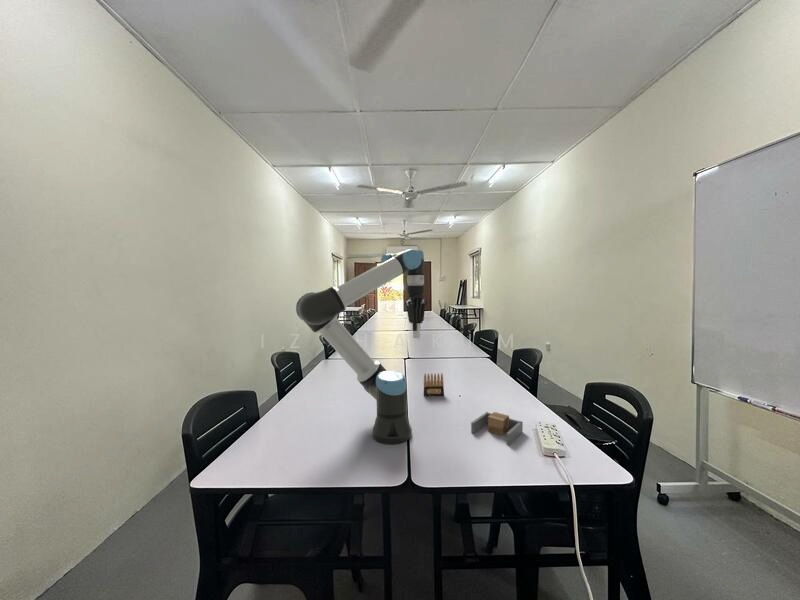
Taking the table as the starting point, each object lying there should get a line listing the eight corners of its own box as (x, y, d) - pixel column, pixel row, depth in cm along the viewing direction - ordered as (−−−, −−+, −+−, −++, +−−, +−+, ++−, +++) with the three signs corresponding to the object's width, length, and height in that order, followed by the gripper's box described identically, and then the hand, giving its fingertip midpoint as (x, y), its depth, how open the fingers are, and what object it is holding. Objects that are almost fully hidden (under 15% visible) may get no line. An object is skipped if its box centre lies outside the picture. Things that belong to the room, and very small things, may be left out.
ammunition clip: (423, 396, 160) (423, 373, 159) (423, 395, 161) (423, 372, 161) (444, 396, 160) (443, 373, 159) (443, 394, 161) (443, 372, 161)
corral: (509, 445, 108) (509, 434, 108) (471, 432, 118) (471, 422, 118) (522, 432, 118) (522, 421, 118) (486, 421, 128) (486, 412, 128)
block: (502, 436, 115) (502, 420, 115) (487, 431, 119) (487, 416, 119) (509, 430, 120) (509, 415, 119) (494, 426, 124) (494, 411, 123)
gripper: (412, 284, 128) (413, 340, 129) (431, 285, 138) (432, 336, 138) (399, 285, 133) (400, 339, 134) (418, 285, 143) (419, 335, 143)
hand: (416, 337), depth 136 cm, fingers closed
